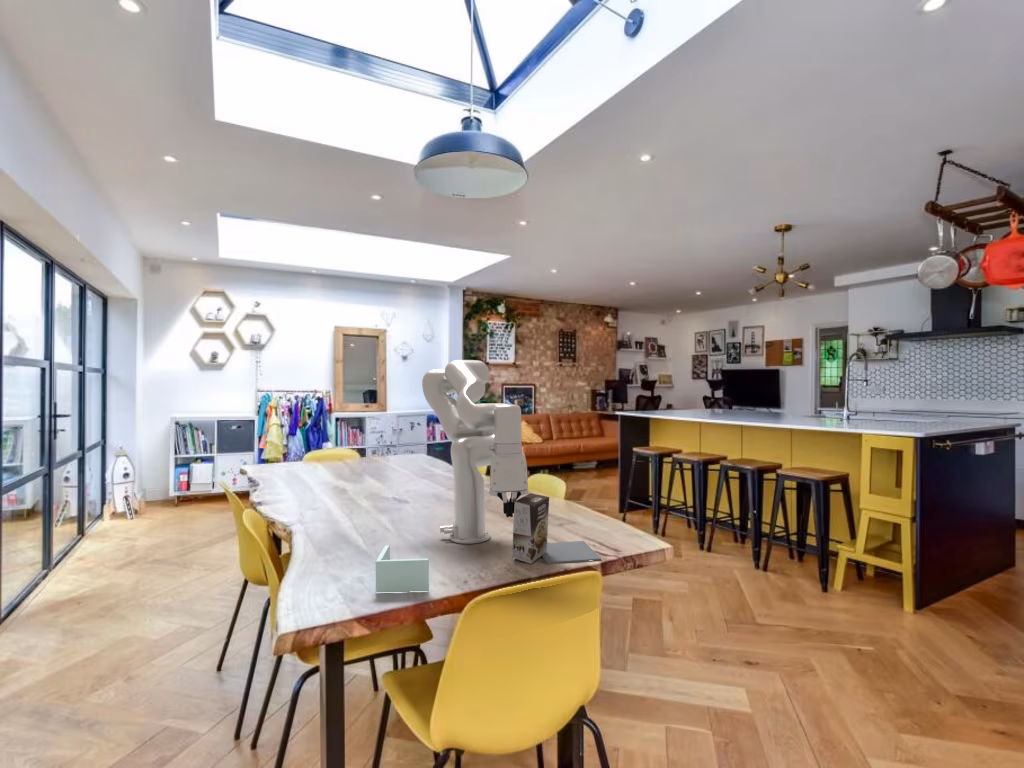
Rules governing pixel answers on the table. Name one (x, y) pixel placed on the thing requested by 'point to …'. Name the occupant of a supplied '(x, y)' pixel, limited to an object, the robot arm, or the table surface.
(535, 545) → the coffee box
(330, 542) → the table surface
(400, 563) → the right angle wall
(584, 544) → the mat
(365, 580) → the table surface
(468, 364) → the robot arm
